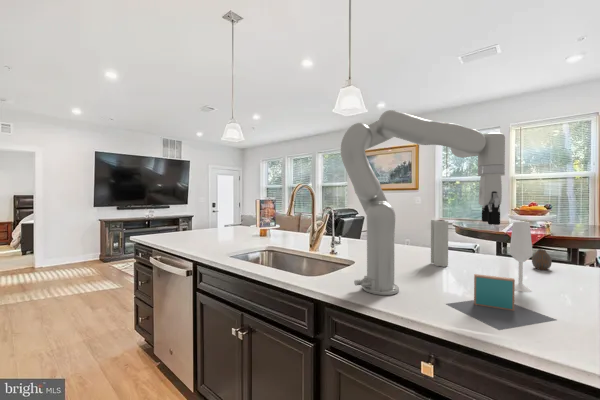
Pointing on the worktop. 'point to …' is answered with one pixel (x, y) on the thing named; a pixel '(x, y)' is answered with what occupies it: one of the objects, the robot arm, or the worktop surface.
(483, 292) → the tile
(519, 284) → the champagne flute
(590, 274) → the worktop surface
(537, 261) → the patterned egg
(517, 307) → the mat
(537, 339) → the worktop surface
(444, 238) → the grey tall block
